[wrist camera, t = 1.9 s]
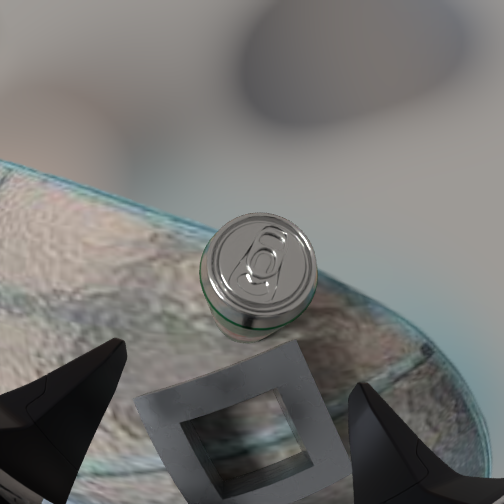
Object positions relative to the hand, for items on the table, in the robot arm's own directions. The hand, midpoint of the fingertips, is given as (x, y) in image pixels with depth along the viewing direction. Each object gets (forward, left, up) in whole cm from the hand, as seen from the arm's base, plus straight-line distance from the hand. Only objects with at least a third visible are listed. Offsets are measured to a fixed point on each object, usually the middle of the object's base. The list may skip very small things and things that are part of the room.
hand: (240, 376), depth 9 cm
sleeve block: (-6, +2, -12) cm, 13 cm away
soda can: (+4, -2, -12) cm, 13 cm away
